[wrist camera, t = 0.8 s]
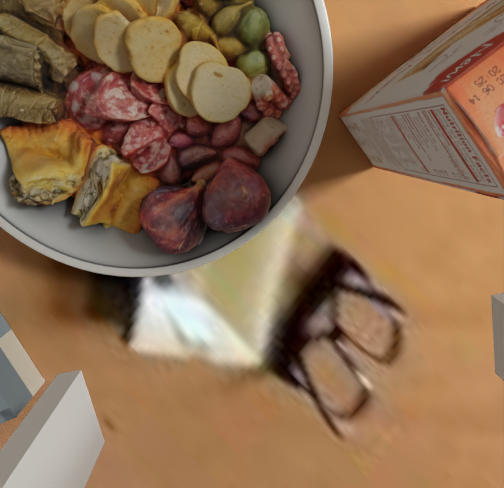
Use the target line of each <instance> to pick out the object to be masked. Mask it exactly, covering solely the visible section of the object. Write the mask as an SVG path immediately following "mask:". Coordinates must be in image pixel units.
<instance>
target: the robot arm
mask: <svg viewBox="0 0 504 488" xmlns="http://www.w3.org/2000/svg"><path fill="white" fill-rule="evenodd" d="M491 300H492V319H493V339H494V358H495V373H496V374H497V375H498V376H499V377H500V378H501V379H502V380H503V381H504V293H501V294H495V295H491ZM103 444H104V438H103V435H102V432H101V429H100V426H99V423H98V420H97V417H96V414H95V411H94V408H93V405H92V402H91V399H90V396H89V393H88V390H87V387H86V384H85V381H84V378H83V374H82V371H81V370H78V371H73V372H67V373H62V374H58V375H57V376H56V377H55V379H54V380H53V381H52V383H51V384H50V385H49V387H48V388H47V389H46V391H45V392H44V393H43V395H42V396H41V397H40V399H39V400H38V401H37V403H36V404H35V405H34V407H33V408H32V409H31V411H30V412H29V413H28V415H27V416H26V417H25V419H24V420H23V421H22V423H21V424H20V425H19V427H18V428H17V429H16V431H15V432H14V433H13V435H12V436H11V437H10V439H9V440H8V441H7V443H6V444H5V445H4V447H3V448H2V449H1V451H0V488H84V487H85V485H86V483H87V481H88V478H89V476H90V474H91V472H92V469H93V467H94V465H95V463H96V460H97V458H98V456H99V453H100V451H101V449H102V447H103Z"/></svg>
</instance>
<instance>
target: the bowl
mask: <svg viewBox="0 0 504 488" xmlns="http://www.w3.org/2000/svg"><path fill="white" fill-rule="evenodd" d="M332 88H333V48H332V38H331V31H330V25H329V20H328V15H327V10H326V7H325V3H324V0H0V227H1V228H2V229H4V230H5V231H6V232H8V233H9V234H10V235H12V236H13V237H15V238H16V239H17V240H19V241H20V242H22V243H24V244H25V245H27V246H29V247H30V248H32V249H34V250H36V251H37V252H39V253H41V254H43V255H45V256H47V257H50V258H52V259H54V260H56V261H59V262H61V263H64V264H67V265H69V266H73V267H76V268H79V269H82V270H86V271H91V272H95V273H100V274H106V275H114V276H125V277H148V276H160V275H167V274H173V273H178V272H182V271H186V270H190V269H193V268H196V267H199V266H202V265H205V264H207V263H210V262H212V261H215V260H217V259H219V258H221V257H223V256H225V255H227V254H229V253H231V252H232V251H234V250H236V249H238V248H239V247H241V246H242V245H244V244H245V243H247V242H248V241H249V240H251V239H252V238H253V237H255V236H256V235H257V234H258V233H260V232H261V231H262V230H263V229H264V228H266V227H267V226H268V225H269V224H270V223H271V222H272V221H273V220H274V219H275V218H276V217H277V216H278V214H279V213H280V212H281V211H282V210H283V209H284V208H285V206H286V205H287V204H288V203H289V201H290V200H291V199H292V197H293V196H294V195H295V193H296V192H297V190H298V189H299V187H300V186H301V184H302V182H303V181H304V179H305V177H306V175H307V173H308V171H309V170H310V168H311V166H312V164H313V161H314V159H315V157H316V155H317V152H318V149H319V147H320V144H321V141H322V138H323V135H324V131H325V128H326V124H327V120H328V116H329V110H330V104H331V98H332Z"/></svg>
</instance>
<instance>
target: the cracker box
mask: <svg viewBox="0 0 504 488" xmlns="http://www.w3.org/2000/svg"><path fill="white" fill-rule="evenodd" d="M339 117H340V118H341V120H342V121H343V123H344V124H345V126H346V127H347V129H348V130H349V131H350V133H351V134H352V136H353V137H354V139H355V140H356V142H357V143H358V144H359V146H360V147H361V149H362V150H363V152H364V153H365V154H366V156H367V157H368V159H369V160H370V162H371V163H372V165H373V166H374V167H375V168H378V169H382V170H386V171H390V172H394V173H398V174H402V175H406V176H410V177H414V178H418V179H422V180H426V181H430V182H434V183H438V184H442V185H446V186H450V187H454V188H458V189H462V190H466V191H470V192H474V193H478V194H482V195H486V196H490V197H494V198H499V199H503V200H504V0H486V1H485V2H483V3H481V4H480V5H479V6H478V7H476V8H475V9H474V10H473V11H471V12H470V13H469V14H467V15H466V16H465V17H463V18H462V19H461V20H459V21H458V22H457V23H456V24H454V25H453V26H452V27H450V28H449V29H448V30H446V31H445V32H444V33H442V34H441V35H440V36H439V37H437V38H436V39H435V40H433V41H432V42H431V43H430V44H428V45H427V46H426V47H424V48H423V49H422V50H421V51H419V52H418V53H417V54H415V55H414V56H413V57H411V58H410V59H409V60H408V61H406V62H405V63H404V64H402V65H401V66H400V67H398V68H397V69H396V70H395V71H393V72H392V73H391V74H389V75H388V76H387V77H386V78H384V79H383V80H382V81H380V82H379V83H378V84H377V85H375V86H374V87H373V88H372V89H370V90H369V91H368V92H367V93H365V94H364V95H363V96H362V97H360V98H359V99H358V100H356V101H355V102H354V103H353V104H351V105H350V106H349V107H348V108H346V109H345V110H344V111H343V112H341V113H340V114H339Z"/></svg>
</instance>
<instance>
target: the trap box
mask: <svg viewBox="0 0 504 488" xmlns="http://www.w3.org/2000/svg"><path fill="white" fill-rule="evenodd" d="M44 382H45V380H44V379H43V377H42V376H41V374H40V373H39V371H38V369H37V368H36V366H35V365H34V363H33V362H32V360H31V359H30V357H29V356H28V354H27V353H26V351H25V349H24V348H23V346H22V345H21V343H20V342H19V340H18V339H17V337H16V336H15V334H14V333H13V331H12V330H11V328H10V326H9V325H8V323H7V322H6V320H5V319H4V317H3V316H2V314H1V313H0V424H1V423H4V422H6V421H8V420H11V419H13V418H15V417H17V415H18V414H19V413H20V412H21V411H22V409H23V408H24V407H25V406H26V404H27V403H28V402H29V401H30V399H31V398H32V397H33V396H34V394H35V393H36V392H37V391H38V390H39V388H40V387H41V386H42V385H43V383H44Z"/></svg>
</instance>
